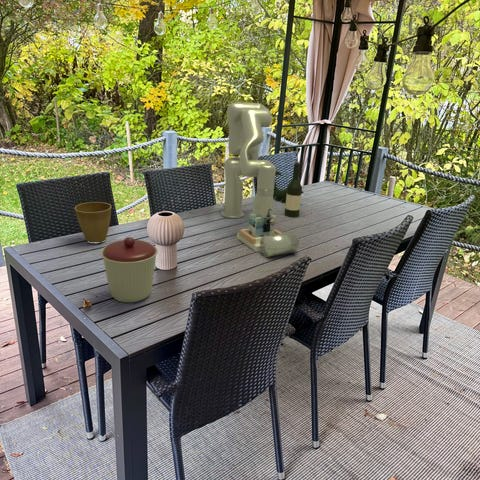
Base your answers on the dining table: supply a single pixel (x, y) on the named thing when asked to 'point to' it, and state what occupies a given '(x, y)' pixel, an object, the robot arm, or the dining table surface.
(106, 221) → the plant pot
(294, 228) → the dining table surface
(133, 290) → the canister
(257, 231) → the light bulb box
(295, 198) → the wine bottle
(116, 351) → the dining table surface
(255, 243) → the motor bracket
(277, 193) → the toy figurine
